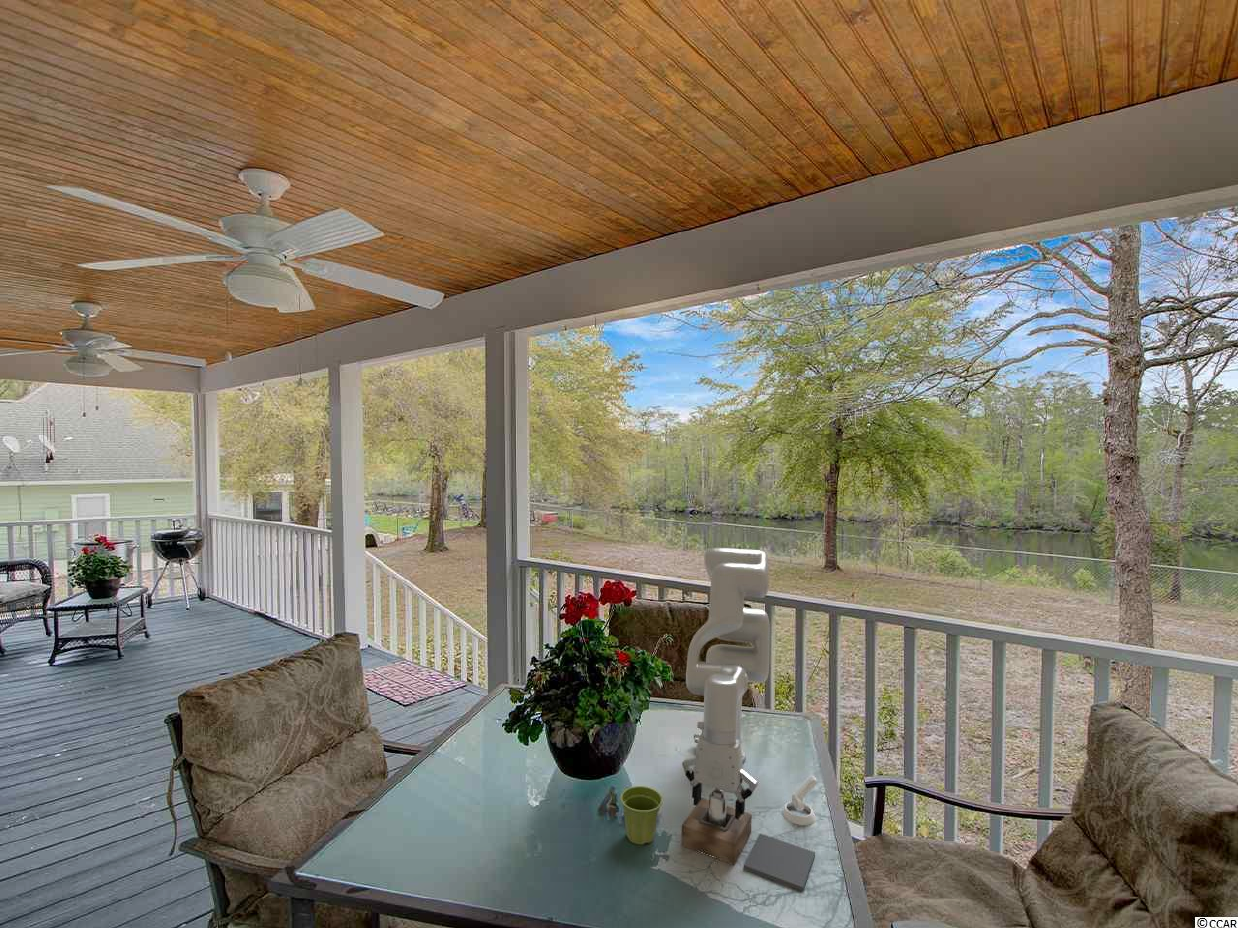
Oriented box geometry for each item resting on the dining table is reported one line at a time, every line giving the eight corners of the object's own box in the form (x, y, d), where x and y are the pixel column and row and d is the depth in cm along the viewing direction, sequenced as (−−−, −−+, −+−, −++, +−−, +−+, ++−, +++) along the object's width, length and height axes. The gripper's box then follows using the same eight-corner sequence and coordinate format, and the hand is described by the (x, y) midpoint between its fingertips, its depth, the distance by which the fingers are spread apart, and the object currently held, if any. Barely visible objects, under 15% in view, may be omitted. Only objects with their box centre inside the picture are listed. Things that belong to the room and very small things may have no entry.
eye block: (681, 845, 128) (681, 822, 128) (701, 816, 139) (701, 795, 139) (734, 865, 122) (735, 841, 122) (751, 833, 133) (751, 812, 133)
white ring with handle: (841, 805, 136) (820, 791, 135) (808, 840, 138) (786, 827, 136) (827, 780, 144) (807, 767, 142) (795, 814, 145) (775, 801, 144)
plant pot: (666, 828, 134) (667, 791, 134) (654, 854, 125) (656, 814, 125) (627, 819, 137) (628, 782, 137) (613, 844, 128) (614, 804, 128)
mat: (743, 868, 121) (743, 864, 121) (759, 836, 132) (759, 833, 132) (803, 891, 116) (803, 887, 116) (814, 855, 126) (815, 852, 126)
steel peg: (705, 841, 130) (707, 790, 130) (711, 831, 133) (713, 782, 133) (722, 847, 128) (723, 795, 128) (727, 837, 131) (729, 787, 131)
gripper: (677, 729, 131) (675, 805, 131) (753, 750, 123) (750, 831, 123) (690, 716, 138) (688, 789, 138) (763, 735, 129) (760, 812, 130)
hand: (717, 808), depth 130 cm, fingers open, 9 cm apart
